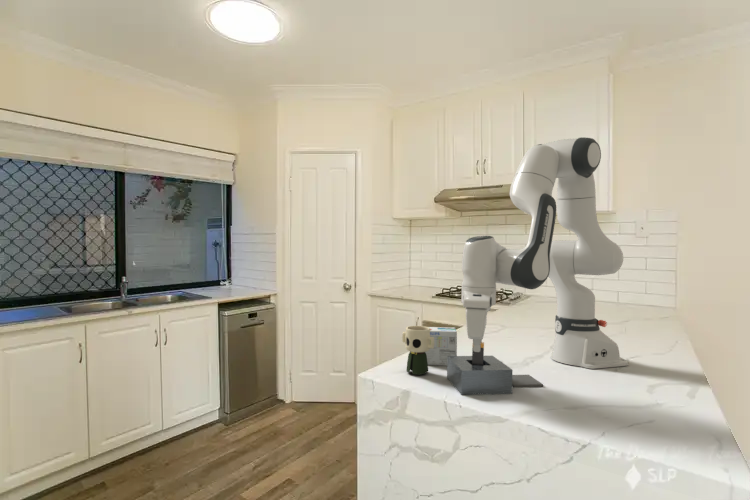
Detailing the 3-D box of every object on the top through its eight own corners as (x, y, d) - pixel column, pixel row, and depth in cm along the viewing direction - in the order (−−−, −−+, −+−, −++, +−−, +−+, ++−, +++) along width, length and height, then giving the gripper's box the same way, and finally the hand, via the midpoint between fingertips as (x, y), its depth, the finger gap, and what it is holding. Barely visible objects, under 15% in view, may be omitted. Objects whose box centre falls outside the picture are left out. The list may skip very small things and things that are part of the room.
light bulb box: (455, 360, 131) (455, 326, 131) (457, 366, 125) (457, 331, 125) (421, 359, 133) (422, 325, 132) (422, 365, 126) (422, 330, 126)
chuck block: (485, 371, 120) (485, 350, 120) (512, 393, 102) (512, 369, 102) (442, 372, 119) (442, 351, 119) (461, 394, 101) (461, 370, 101)
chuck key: (483, 373, 109) (484, 342, 109) (482, 375, 106) (483, 343, 107) (472, 371, 109) (473, 341, 110) (471, 373, 107) (472, 342, 107)
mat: (528, 376, 116) (528, 374, 116) (542, 386, 108) (542, 384, 108) (501, 377, 115) (501, 375, 115) (513, 387, 107) (513, 384, 107)
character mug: (394, 371, 119) (395, 327, 118) (409, 366, 124) (409, 323, 124) (426, 380, 112) (427, 332, 111) (440, 374, 117) (440, 329, 117)
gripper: (469, 292, 119) (468, 339, 119) (462, 301, 99) (461, 358, 100) (492, 293, 117) (491, 341, 117) (489, 302, 98) (488, 360, 98)
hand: (477, 349), depth 108 cm, fingers closed on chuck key, 3 cm apart
